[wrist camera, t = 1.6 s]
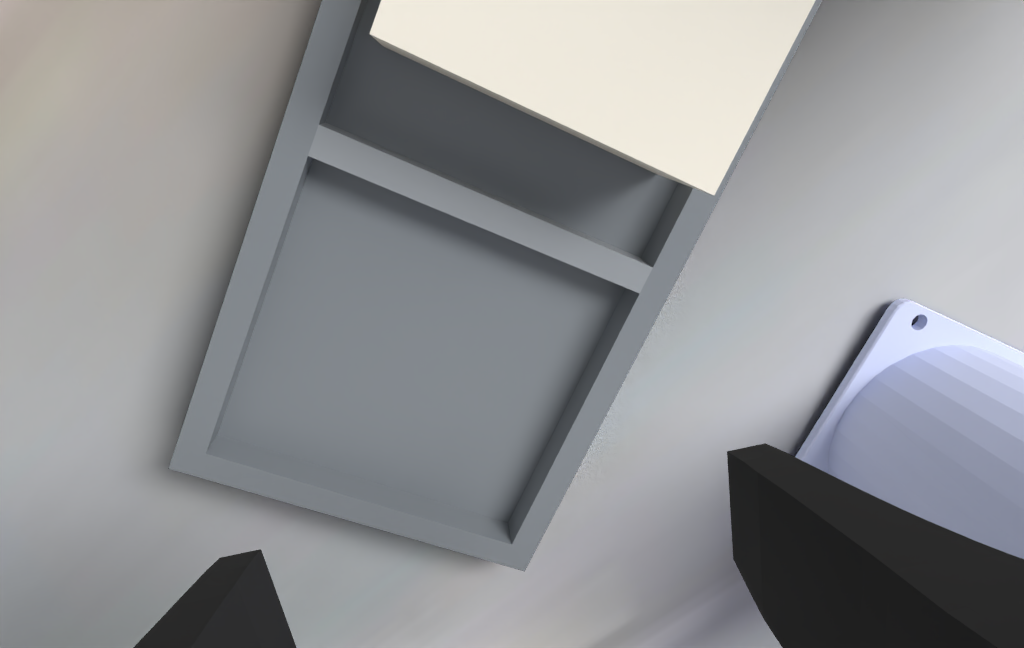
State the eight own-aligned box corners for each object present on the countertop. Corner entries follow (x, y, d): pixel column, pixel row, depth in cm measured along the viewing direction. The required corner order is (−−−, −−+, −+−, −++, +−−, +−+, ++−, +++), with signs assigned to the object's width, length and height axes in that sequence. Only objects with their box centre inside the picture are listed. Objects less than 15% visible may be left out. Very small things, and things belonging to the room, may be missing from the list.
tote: (827, -66, 17) (864, -80, 16) (518, 539, 23) (524, 571, 21) (435, -305, 15) (436, -349, 13) (187, 440, 20) (168, 468, 19)
